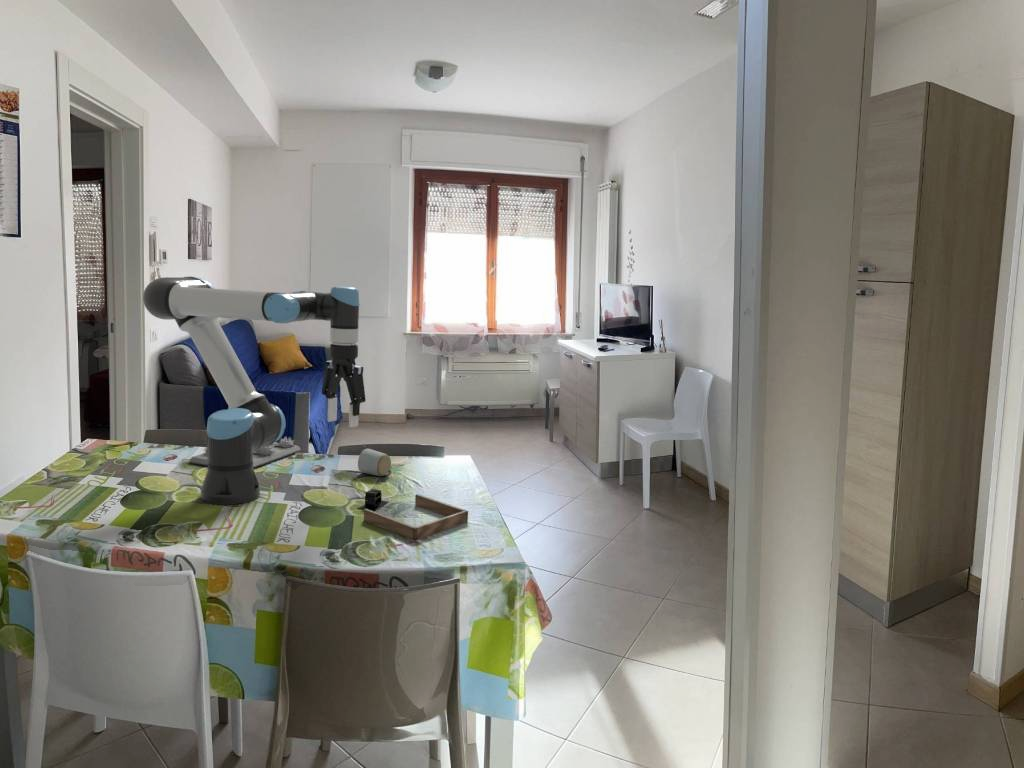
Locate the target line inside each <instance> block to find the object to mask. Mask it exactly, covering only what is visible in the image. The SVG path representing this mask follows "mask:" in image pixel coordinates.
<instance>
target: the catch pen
mask: <svg viewBox="0 0 1024 768" xmlns="http://www.w3.org/2000/svg"><path fill="white" fill-rule="evenodd" d="M414 501H415V503H414V506H417V507H420V508H422V509H425V510H428V511H431V512H434V513H437V514H440V515H443V516H444V517H441V518H438V519H435V520H432V521H429V522H426V523H424V524H420V525H417V526H414V525H411V524H408V523H405V522H403V521H400V520H399V519H395V518H393V517H390V516H387V515H385V514H381V513H380V512H377V511H375V512H374V511H371V510H369V509H364V510H363V521H364V522H366V523H369V524H371V525H375V526H377V527H380V528H382V529H385V530H387V531H389V532H392V533H394V534H397V535H399V536H401V537H405V538H407V539H410V540H413V541H417V540H421V539H423V538H427V537H429V536H432V535H434V534H437V533H440V532H442V531H446V530H449V529H451V528H454V527H457V526H460V525H463V524H465V523H468V522H469V510H466V509H464V508H460V507H457V506H454V505H452V504H448V503H446V502H443V501H440V500H437V499H434V498H432V497H431V498H430V497H427V496H425V495H422V494H419V493H416V494H415V499H414Z"/></svg>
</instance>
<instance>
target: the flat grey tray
mask: <svg viewBox="0 0 1024 768" xmlns="http://www.w3.org/2000/svg"><path fill="white" fill-rule="evenodd" d="M295 443H296V442H295V441H294V440H292V437H290V436H289V437H288V438H287V437H286V436H283V438H282V437H281V438H280V439H279V440H278V441H276V442H274V443H273V444H271V445H269V446H267V447H263V448H260V449H258V450H256V451H253V469H255V468H258V467H261V466H264V465H267V464H269V463H272V462H275V461H277V460H280V459H284V458H285V457H289V456H292V455H294V454H297V453H299V452H300V451H301V450H302V449H301V447H300V446H299V445H296V444H295ZM189 462H190V463H191V464H194V465H195V464H196V465H201V466H205V467H208V462H207V444H205V447H204V449H203V453H199V454H197V455H194V456H192V457H191V458H189Z"/></svg>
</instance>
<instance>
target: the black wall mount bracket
mask: <svg viewBox="0 0 1024 768" xmlns="http://www.w3.org/2000/svg"><path fill="white" fill-rule="evenodd" d="M389 503H390V501H387V500H382V490H381V489H375V488H370V489H369V490H368V491H366V492H365V496H364V503H363V504H362V505H359V506H358V507H356V510H359V511H364V509H369V510H371V511H374V512H377V511H378V510H380V509H382V508H383V507H384V506H386V505H388V504H389Z"/></svg>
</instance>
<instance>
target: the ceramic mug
mask: <svg viewBox="0 0 1024 768" xmlns="http://www.w3.org/2000/svg"><path fill="white" fill-rule="evenodd" d="M357 468H358V470H359V472H360V473H362V474H367V475H371V476H376V477H384V476H386V475H387V474H388V473H389V471H390V472H391V471H392V468H393V466H392V460H391V457H390V456H389V455H388V454H387V453H384V452H382V451H381V452H380V451H377V450H375V449H372V448H365V449H363V450H362V451H361V452H360V453H359V455H358V459H357Z"/></svg>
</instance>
